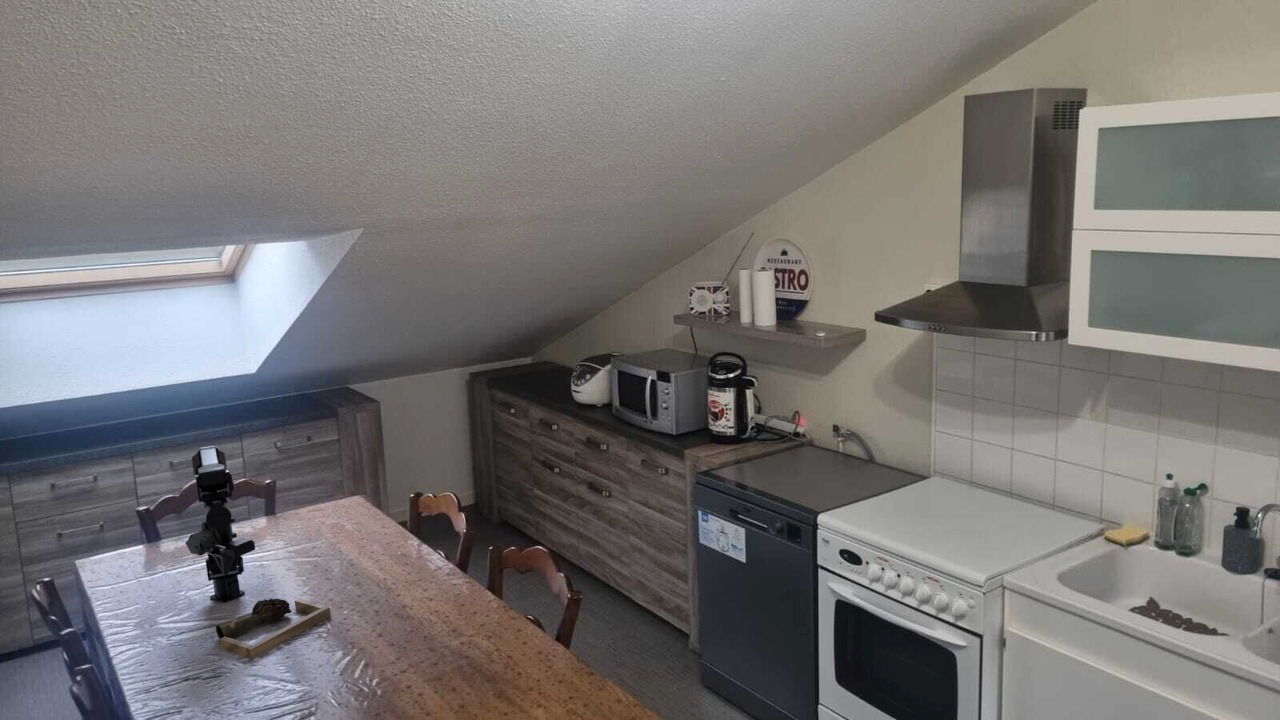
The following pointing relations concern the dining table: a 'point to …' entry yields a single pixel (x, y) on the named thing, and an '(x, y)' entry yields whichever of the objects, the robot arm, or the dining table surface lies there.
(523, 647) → the dining table surface
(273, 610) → the mossy log
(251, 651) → the cradle frame
